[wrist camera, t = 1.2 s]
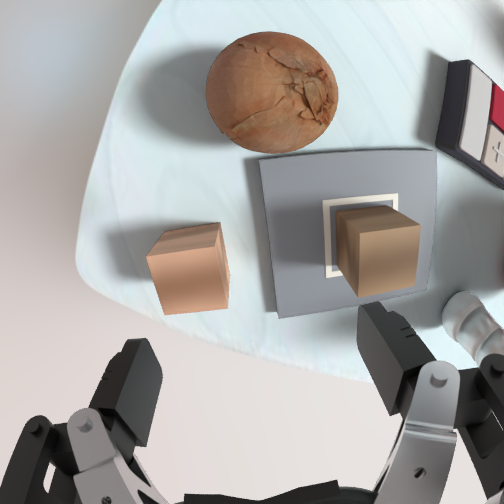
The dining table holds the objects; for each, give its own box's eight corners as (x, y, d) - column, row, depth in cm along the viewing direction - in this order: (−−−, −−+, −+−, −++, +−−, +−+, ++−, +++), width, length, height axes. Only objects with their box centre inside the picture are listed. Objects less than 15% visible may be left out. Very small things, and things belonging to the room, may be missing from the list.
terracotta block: (164, 231, 27) (145, 256, 21) (220, 222, 26) (214, 246, 21) (177, 281, 29) (164, 315, 23) (230, 274, 29) (227, 308, 23)
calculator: (521, 198, 22) (459, 151, 20) (499, 189, 26) (432, 145, 24) (535, 122, 18) (472, 56, 16) (513, 118, 22) (447, 60, 20)
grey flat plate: (258, 159, 24) (259, 160, 23) (429, 149, 24) (437, 151, 23) (277, 312, 30) (278, 319, 29) (421, 285, 30) (426, 290, 29)
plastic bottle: (472, 279, 30) (562, 367, 12) (465, 317, 33) (538, 405, 14) (439, 293, 31) (530, 399, 12) (433, 331, 33) (504, 434, 15)
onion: (302, 101, 25) (385, 105, 17) (240, 168, 25) (313, 195, 17) (242, 28, 19) (318, -6, 11) (164, 95, 19) (208, 75, 11)
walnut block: (335, 211, 25) (359, 233, 19) (387, 205, 25) (421, 225, 19) (336, 265, 27) (357, 297, 22) (385, 257, 27) (414, 285, 21)
